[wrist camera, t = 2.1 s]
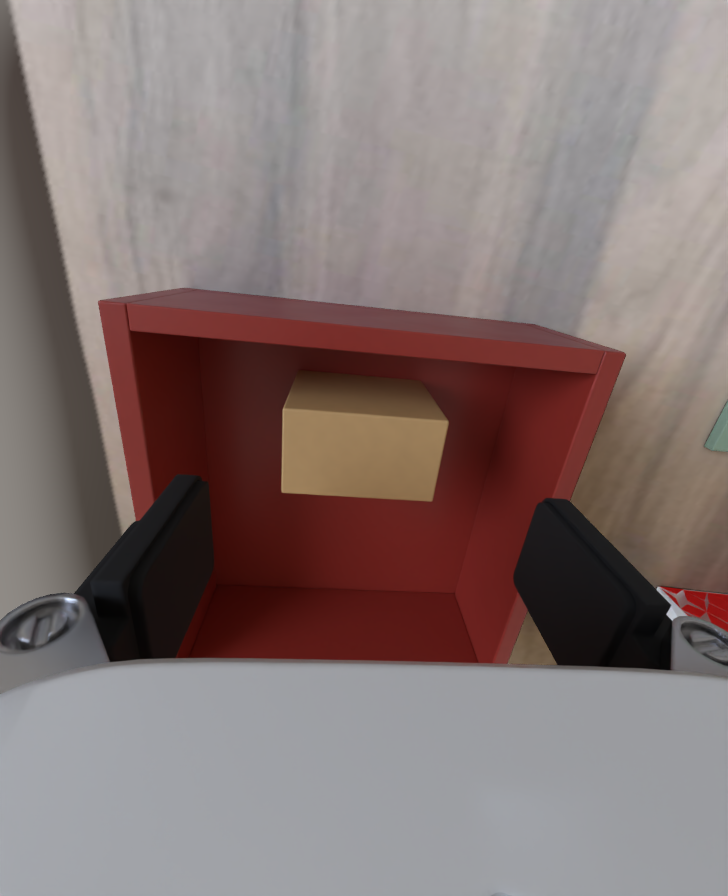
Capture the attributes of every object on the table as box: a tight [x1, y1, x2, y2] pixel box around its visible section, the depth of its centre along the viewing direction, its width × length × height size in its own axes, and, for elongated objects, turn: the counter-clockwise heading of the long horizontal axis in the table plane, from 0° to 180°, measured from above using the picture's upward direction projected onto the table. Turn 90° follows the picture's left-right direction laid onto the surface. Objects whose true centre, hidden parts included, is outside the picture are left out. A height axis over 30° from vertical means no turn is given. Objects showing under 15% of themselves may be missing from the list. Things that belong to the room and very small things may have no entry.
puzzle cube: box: [656, 587, 728, 632], centre depth 26 cm, size 8×8×8 cm
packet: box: [281, 370, 449, 502], centre depth 17 cm, size 4×6×6 cm, turn 84°
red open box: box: [98, 288, 626, 664], centre depth 19 cm, size 18×17×7 cm
